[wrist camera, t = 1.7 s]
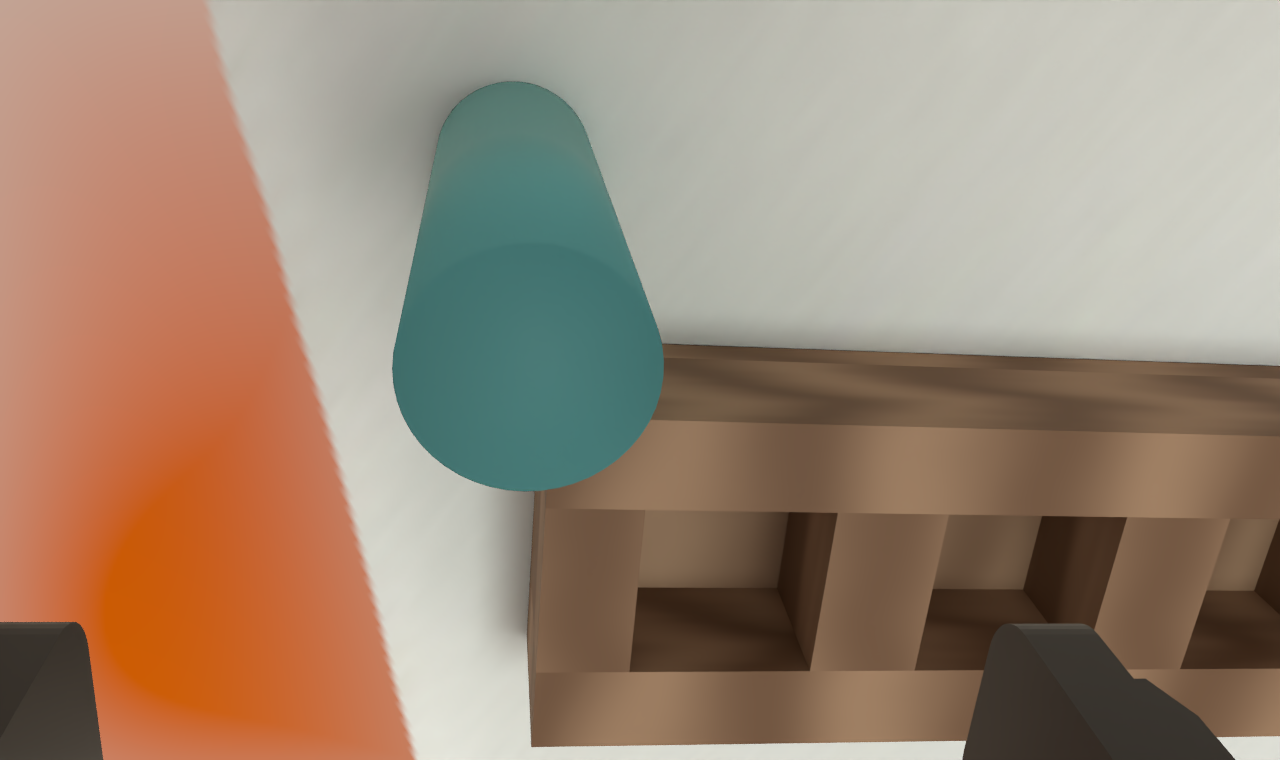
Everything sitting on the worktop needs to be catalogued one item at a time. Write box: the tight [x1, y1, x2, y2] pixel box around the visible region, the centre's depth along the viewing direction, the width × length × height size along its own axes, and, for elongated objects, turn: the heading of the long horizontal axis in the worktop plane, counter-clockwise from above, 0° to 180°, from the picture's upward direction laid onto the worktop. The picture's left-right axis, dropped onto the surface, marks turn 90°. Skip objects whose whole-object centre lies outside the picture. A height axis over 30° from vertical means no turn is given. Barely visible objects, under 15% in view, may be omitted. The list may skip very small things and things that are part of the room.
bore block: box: [527, 344, 1280, 747], centre depth 33 cm, size 26×10×5 cm, turn 85°
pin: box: [392, 82, 664, 491], centre depth 23 cm, size 4×4×14 cm
